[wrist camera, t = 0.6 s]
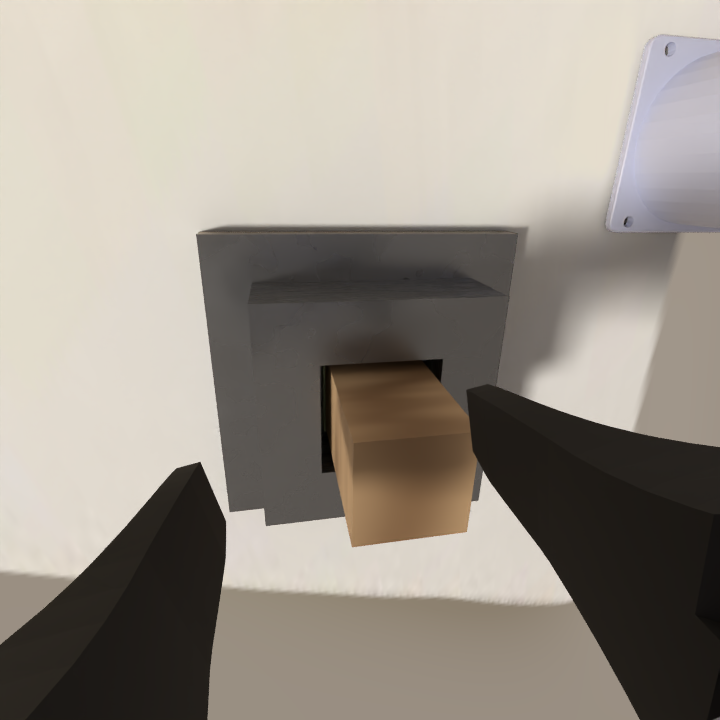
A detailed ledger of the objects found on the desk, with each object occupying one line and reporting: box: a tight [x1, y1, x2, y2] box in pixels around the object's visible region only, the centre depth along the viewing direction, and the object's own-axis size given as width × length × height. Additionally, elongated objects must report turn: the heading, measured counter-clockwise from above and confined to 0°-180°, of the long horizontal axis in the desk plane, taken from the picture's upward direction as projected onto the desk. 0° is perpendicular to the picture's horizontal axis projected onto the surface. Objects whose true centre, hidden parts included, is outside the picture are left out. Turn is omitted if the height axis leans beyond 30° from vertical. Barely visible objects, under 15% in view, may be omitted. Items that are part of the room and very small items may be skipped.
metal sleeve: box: [196, 231, 518, 526], centre depth 20 cm, size 14×14×5 cm
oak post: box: [322, 360, 477, 547], centre depth 17 cm, size 4×4×8 cm
